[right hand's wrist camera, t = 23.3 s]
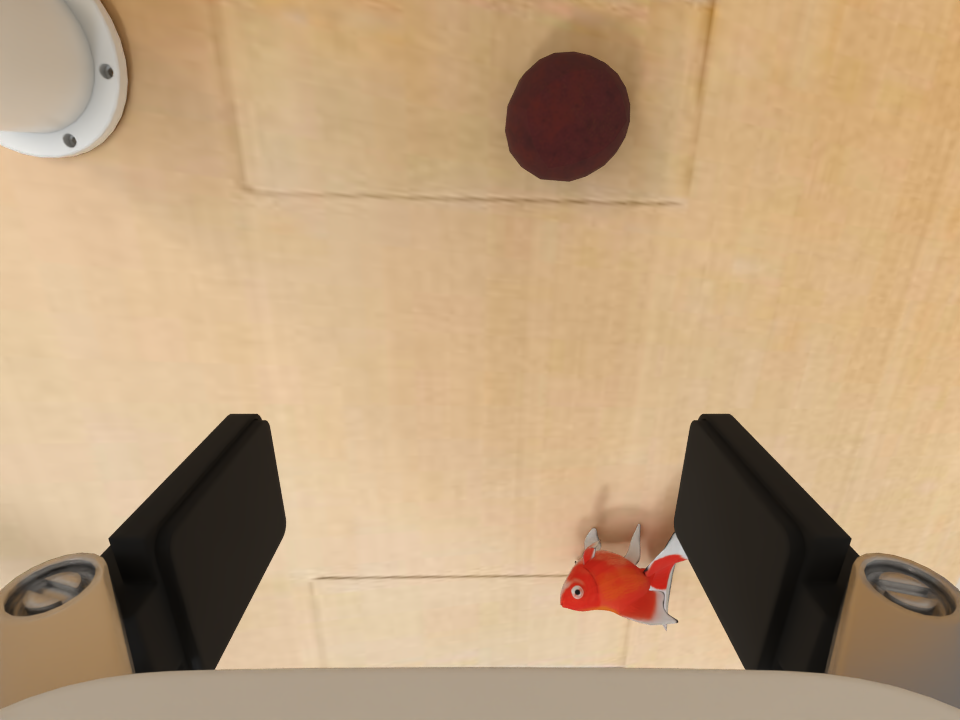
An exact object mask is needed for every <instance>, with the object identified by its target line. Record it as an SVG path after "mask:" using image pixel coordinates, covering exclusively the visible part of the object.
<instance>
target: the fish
mask: <svg viewBox="0 0 960 720" xmlns="http://www.w3.org/2000/svg"><path fill="white" fill-rule="evenodd" d="M584 545H585V551H584V554H583V557H582V558H581V559H579V560H578V561H577V562H576V561H575V565H574V567H573V568H572V570H571V571H570V573H569V575H568V576H567V578H566V580H565V582H564V584H563V587H562V590H561V596H560V603H561V605H562V607H564V608H568V609H572V610H576V611H590V610H607V611H611V612H614V613H616V614H618V615H620V616H622V617H625V618H627V619H630V620H633V621H636V622H639V623H643V624H648V625H663V626H664V628H665V630H666V631H667V624H673V623H678V620H676V619H675V618H673V617H672V616H670V615H669V614H668V602H669V595H670V588H671V582H672V575H673V571H674V567H675V564H676V563H677V562H680V561H684V560H687V559H688V558H687V556H686V554H685V552H684V550H683V548H682V546H681V544H680V542H679V540H678V538H677V536H676V533H675V532H674V533H673V535H672V537H671V538H670V540H669V542H668V543H667V545H666V547H665V548H664V550H663V551H662V552H661V553H660V554H659V555H658V556H657V557H656V558H655V559H654V560H653V561H652V562H651V563H650V565H649V566H648V567H647V568H638V567H637V566H635V565H636V564H637V563H638V562H639V559H640V524H638V526H637V528H636V530H635V533H634V535H633V537H632V539H631V543H630V546H629V550H628V552H627V554H626V556H625V557H623V556H620V555H618V554H616V553H612V552H609V551H603V550H600V549H601V543H600V540H599V538H598V535H597V530H596V529H595V528H592V529H591V530H590V532H589V533H588V535H587V536H586V539H585V542H584Z"/></svg>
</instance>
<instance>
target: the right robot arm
mask: <svg viewBox="0 0 960 720" xmlns="http://www.w3.org/2000/svg"><path fill="white" fill-rule="evenodd" d="M112 71H113V74H112ZM127 86H128V77H127V66H126V59H125V55H124V51H123V48H122V44H121V40H120V38H119V35H118V33H117V31H116V28H115V26H114V24H113V21H112V19H111V17H110V16H109V14H108V12H107V11H106V9H105V8H104V6H103V4H102V3H101V1H100V0H0V145H2V146H4V147H6V148H8V149H11V150H14V151H16V152H19V153H22V154H26V155H31V156H36V157H42V158H62V157H72V156H77V155H80V154H83V153H86V152H88V151H91V150H92V149H94V148H95V147H97V146H98V145H100V144H101V143H103V142H104V141H105V140H106V139H107V138H108V136H109V135H110V134H111V133H112V132H113V131H114V129H115V127H116V126H117V124H118V122H119V120H120V118H121V116H122V113H123V110H124V106H125V103H126V98H127ZM285 529H286V517H285V511H284V505H283V499H282V494H281V488H280V482H279V476H278V470H277V465H276V459H275V453H274V447H273V441H272V436H271V430H270V425H269V423H268V421H266V420H262V419H261V417H260V416H259V415H258V414H230V415H228V416H227V417H226V418H225V419H224V420H223V421H222V422H221V423H220V424H219V425H218V426H217V427H216V428H215V429H214V430H213V431H212V432H211V433H210V435H209V436H208V437H207V438H206V439H205V440H204V441H203V442H202V443H201V444H200V445H199V446H198V447H197V448H196V449H195V450H194V451H193V452H192V453H191V454H190V455H189V456H188V457H187V458H186V459H185V460H184V461H183V462H182V463H181V464H180V465H179V466H178V467H177V468H176V470H175V471H174V472H173V473H172V474H171V475H170V476H169V477H168V478H167V479H166V480H165V481H164V482H163V483H162V484H161V485H160V486H159V487H158V488H157V489H156V490H155V491H154V492H153V493H152V494H151V495H150V496H149V497H148V498H147V499H146V500H145V501H144V502H143V503H142V505H141V506H140V507H139V508H138V509H137V510H136V511H135V512H134V513H133V514H132V515H131V516H130V517H129V518H128V519H127V520H126V521H125V522H124V523H123V524H122V525H121V526H120V527H119V528H118V529H117V530H116V531H115V532H114V533H113V534H112V535H111V536H110V537H109V538H108V539H109V542H110V546H109V547H108V548H107V550H106V551H105V552H104V553H103V554H102V555H101V556H98V555H96V554H91V553H77V554H70V555H65V556H62V557H58V558H55V559H52V560H49V561H46V562H44V563H42V564H40V565H37V566H35V567H33V568H31V569H29V570H28V571H26V572H24V573H23V574H21V575H19V576H18V577H16V578H15V579H14V580H12V581H11V582H10V583H9V584H7V585H6V586H5V587H4V588H3V589H2V590H1V591H0V720H960V591H959V590H958V589H957V588H956V587H955V586H954V585H953V584H951V583H950V582H949V581H948V580H946V579H945V578H944V577H942V576H941V575H939V574H937V573H936V572H934V571H932V570H931V569H929V568H927V567H925V566H923V565H920V564H918V563H916V562H914V561H911V560H908V559H905V558H902V557H898V556H895V555H890V554H883V553H869V554H864V555H862V556H859V555H858V554H857V553H856V552H855V551H854V550H853V548H852V547H851V546H850V542H851V539H852V538H851V537H850V536H849V535H848V534H847V533H846V532H845V531H844V530H843V529H842V528H841V527H840V526H839V525H838V524H837V523H836V522H835V521H834V520H833V519H832V518H831V517H830V516H829V515H828V514H827V513H826V512H825V511H824V510H823V509H822V508H821V507H820V506H819V505H818V503H817V502H816V501H815V500H814V499H813V498H812V497H811V496H810V495H809V494H808V493H807V492H806V491H805V490H804V489H803V488H802V487H801V486H800V485H799V484H798V483H797V482H796V481H795V480H794V479H793V478H792V477H791V476H790V475H789V474H788V473H787V472H786V471H785V470H784V468H783V467H782V466H781V465H780V464H779V463H778V462H777V461H776V460H775V459H774V458H773V457H772V456H771V455H770V454H769V453H768V452H767V451H766V450H765V449H764V448H763V447H762V446H761V445H760V444H759V443H758V442H757V441H756V440H755V439H754V438H753V437H752V436H751V435H750V434H749V432H748V431H747V430H746V429H745V428H744V427H743V426H742V425H741V424H740V423H739V422H738V421H737V420H736V419H735V418H734V417H733V416H732V415H730V414H702V415H701V416H700V417H699V419H698V420H694V421H692V423H691V425H690V430H689V436H688V441H687V447H686V453H685V459H684V465H683V470H682V476H681V482H680V488H679V494H678V499H677V505H676V511H675V517H674V529H675V533H676V536H677V538H678V540H679V542H680V544H681V546H682V548H683V550H684V552H685V554H686V556H687V558H688V560H689V562H690V564H691V566H692V567H693V569H694V571H695V573H696V575H697V577H698V579H699V581H700V583H701V585H702V587H703V589H704V591H705V593H706V595H707V596H708V598H709V600H710V602H711V604H712V606H713V608H714V610H715V612H716V614H717V616H718V618H719V620H720V622H721V624H722V626H723V627H724V629H725V631H726V633H727V635H728V637H729V639H730V641H731V643H732V645H733V647H734V649H735V651H736V653H737V655H738V656H739V658H740V660H741V662H742V664H743V666H744V668H745V670H734V669H676V668H540V667H419V668H284V669H226V670H215V668H216V666H217V664H218V662H219V660H220V658H221V656H222V655H223V653H224V651H225V649H226V647H227V645H228V643H229V641H230V639H231V637H232V635H233V633H234V631H235V629H236V627H237V626H238V624H239V622H240V620H241V618H242V616H243V614H244V612H245V610H246V608H247V606H248V604H249V602H250V600H251V598H252V596H253V595H254V593H255V591H256V589H257V587H258V585H259V583H260V581H261V579H262V577H263V575H264V573H265V571H266V569H267V567H268V566H269V564H270V562H271V560H272V558H273V556H274V554H275V552H276V550H277V548H278V546H279V544H280V542H281V540H282V538H283V536H284V533H285Z"/></svg>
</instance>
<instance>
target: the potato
mask: <svg viewBox="0 0 960 720" xmlns="http://www.w3.org/2000/svg"><path fill="white" fill-rule="evenodd" d="M629 122H630V103H629V98H628V94H627V90H626V87H625V85H624V84H623V82H622V80H621V79H620V77H619V75H618V74H617V73H616V72H615V71H614V70H613V69H612V68H610V67H609V66H608V65H607V64H606V63H604V62H602V61H600V60H598V59H596V58H594V57H592V56H590V55H586V54H581V53H577V52H562V53H553V54H551V55H549V56H547V57H544V58H542V59H540V60H539V61H537V62H536V63H535V64H534V65H533V66H532V67H531V68H530V69H529V70H528V71H527V72H526V73H525V74H524V75H523V76H522V78H521V79H520V80H519V82H518V85H517V87H516V89H515V91H514V93H513V95H512V98H511V100H510V102H509V104H508V107H507V117H506V127H505V132H506V137H507V141H508V146H509V151H510V153H511V154H512V155H513V156H514V158H515V159H516V160H517V162H518V163H519V164H520V166H521V167H522V168H524V169H525V170H527V171H529V172H530V173H532V174H533V175H535V176H536V177H538V178H540V179H544V180H557V181H573V180H576V179H579V178H582V177H585V176H587V175H589V174H591V173H592V172H594V171H596V170H597V169H599V168H601V167H602V166H604V165H605V164H606V163H607V162H608V161H609V160H610V159H611V158H612V157H613V156H614V155H615V153H616V152H617V150H618V149H619V147H620V145H621V144H622V142H623V140H624V139H625V136H626V133H627V129H628V126H629Z"/></svg>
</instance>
